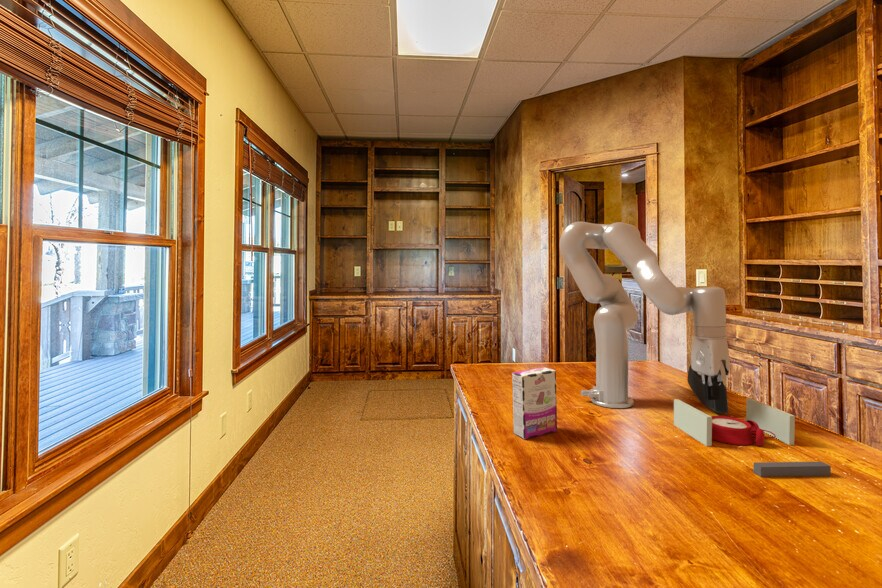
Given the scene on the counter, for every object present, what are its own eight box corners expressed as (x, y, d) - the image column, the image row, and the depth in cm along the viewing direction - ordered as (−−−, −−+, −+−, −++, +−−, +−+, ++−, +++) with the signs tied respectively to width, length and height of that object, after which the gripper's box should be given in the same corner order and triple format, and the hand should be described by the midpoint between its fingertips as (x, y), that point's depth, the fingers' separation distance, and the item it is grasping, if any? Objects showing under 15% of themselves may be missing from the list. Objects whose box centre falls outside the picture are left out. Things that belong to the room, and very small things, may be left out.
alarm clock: (695, 414, 111) (762, 407, 105) (701, 437, 111) (769, 432, 105) (702, 427, 101) (777, 421, 95) (709, 452, 101) (784, 448, 95)
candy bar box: (544, 425, 114) (544, 366, 113) (557, 431, 109) (557, 370, 108) (511, 433, 108) (511, 371, 108) (523, 440, 104) (523, 375, 103)
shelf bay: (706, 446, 99) (706, 417, 98) (673, 424, 113) (673, 399, 112) (794, 444, 98) (794, 415, 98) (750, 423, 112) (751, 398, 112)
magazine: (732, 389, 115) (701, 341, 141) (718, 388, 116) (690, 341, 142) (724, 440, 120) (696, 385, 147) (711, 439, 121) (686, 384, 148)
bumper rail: (760, 476, 84) (760, 467, 83) (753, 472, 86) (753, 462, 85) (830, 475, 84) (830, 466, 83) (821, 471, 86) (821, 461, 85)
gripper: (680, 330, 121) (682, 392, 121) (713, 336, 106) (716, 407, 106) (706, 328, 121) (708, 391, 121) (743, 335, 106) (745, 406, 106)
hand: (711, 398), depth 114 cm, fingers closed
